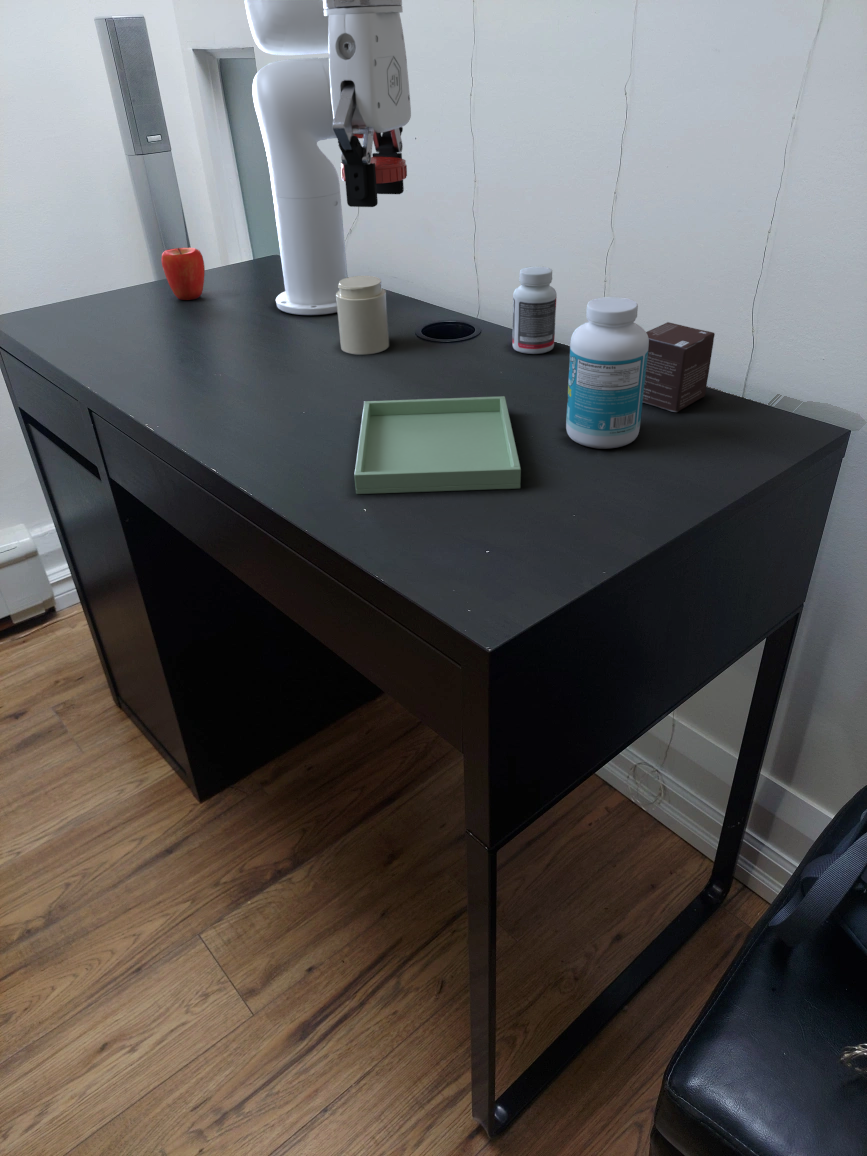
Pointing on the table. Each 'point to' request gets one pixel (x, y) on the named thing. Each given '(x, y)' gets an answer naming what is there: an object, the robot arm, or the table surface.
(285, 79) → the robot arm
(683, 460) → the table surface
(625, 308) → the pill bottle
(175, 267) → the apple
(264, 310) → the table surface
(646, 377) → the box
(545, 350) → the pill bottle
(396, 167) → the cap
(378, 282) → the jar
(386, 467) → the tray
